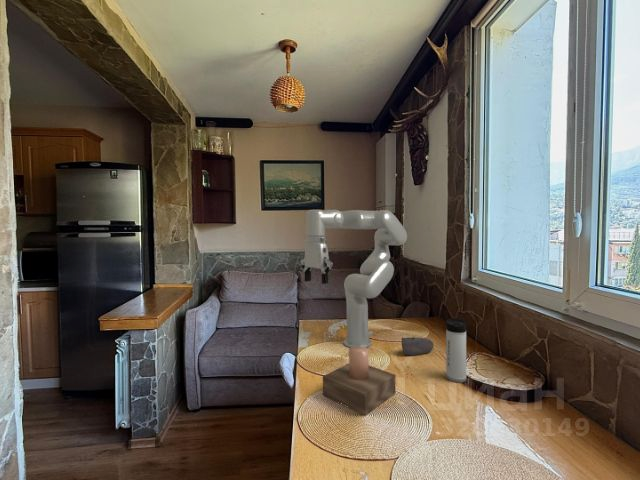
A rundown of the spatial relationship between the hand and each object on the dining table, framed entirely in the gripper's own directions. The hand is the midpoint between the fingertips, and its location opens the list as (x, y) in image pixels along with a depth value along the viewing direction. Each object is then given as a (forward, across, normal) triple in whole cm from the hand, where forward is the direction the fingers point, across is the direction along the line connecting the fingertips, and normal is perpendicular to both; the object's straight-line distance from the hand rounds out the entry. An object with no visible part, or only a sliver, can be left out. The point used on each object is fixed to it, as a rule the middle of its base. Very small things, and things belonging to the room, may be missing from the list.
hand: (316, 282), depth 127 cm
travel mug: (+31, -49, -18) cm, 60 cm away
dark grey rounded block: (+31, -29, -29) cm, 51 cm away
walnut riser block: (+30, -31, +13) cm, 45 cm away
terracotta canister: (+24, -31, +13) cm, 41 cm away
